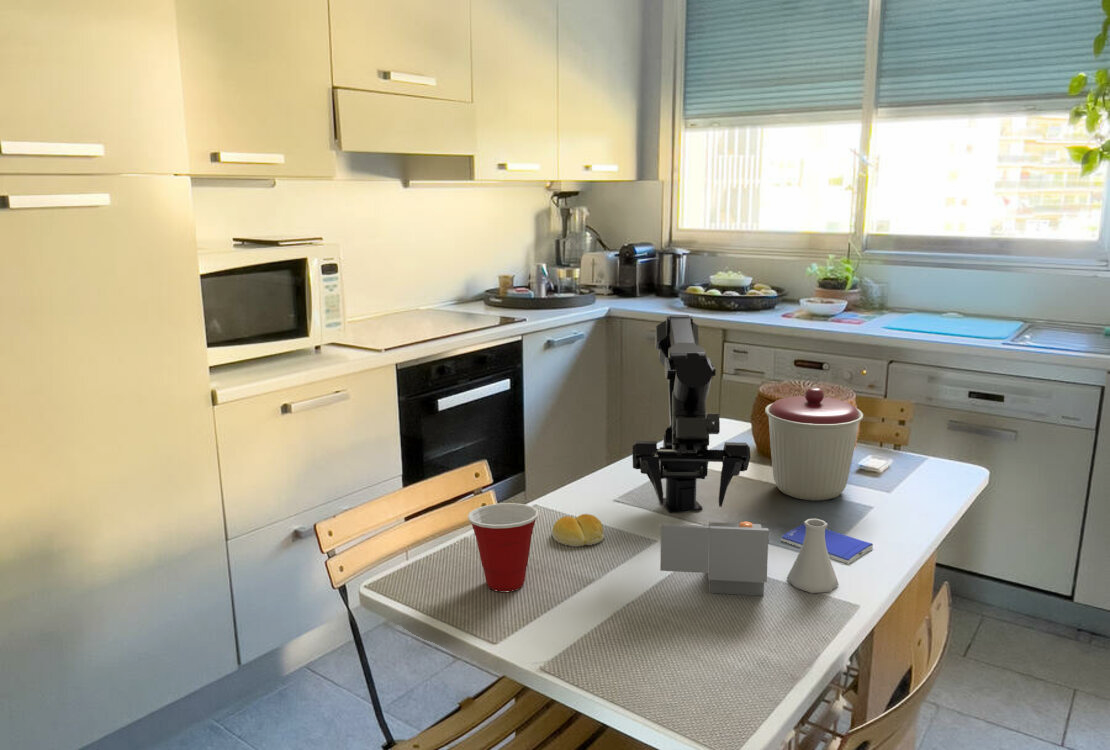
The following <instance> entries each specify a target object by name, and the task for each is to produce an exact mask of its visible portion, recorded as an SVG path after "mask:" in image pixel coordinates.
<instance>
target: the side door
mask: <svg viewBox="0 0 1110 750" xmlns="http://www.w3.org/2000/svg"><path fill="white" fill-rule="evenodd" d="M769 531H770V530H769V528H768V527H762V528H748V527H723V526H710V530H709V525H695V524H694V525H692V524H691V525H690V524H676V523H675V524H669V523H661V524H660V559H659V560H660V563H659V564H660V569H659V571H660V572H678V573H679V572H681V573H698V574H699V573H700V574H701V573H702V574H707V577H708V578H707V580H708V579H710V580H730V581H749V582H765V583H767V582H768V557H769V556H768V555H769V554H768V553H769ZM708 553H709V572H708Z"/></svg>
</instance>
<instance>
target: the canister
mask: <svg viewBox="0 0 1110 750" xmlns="http://www.w3.org/2000/svg"><path fill="white" fill-rule="evenodd" d="M764 411H765V412H764V413H765V414H766V415H767V417H768V427H769V428H768V429H769V442H770V443H769V446H770V455H771V465H772V476H773V477H772V478H773V480H774V484H775V486H776V487H777V489H779V491H781V492H782V493H783V494H785V495H787V496H789V497H791V498H792V497H793V498H796V499H798V500H799V499H800V500H805V501H826V500H830V499H831V500H832V499H834V498H837V497H838V496H840V495H841V494H842V493H843V491H845V488H846V487H847V484H848V479H849V474H850V471H851V467H852V462H853V461H852V460H853V456H854V451H855V445H856V441H857V435H858V430H859V424H860V422H861V421H862V420H863V419H864V413H863V412H862V411H861V410H860V409H858V408H857V407H855V406H854V405H853V404H851V403H849V402H847V401H845V400H843V399H841V400H840V399H837V398H833V397H826V396H825V393H824V390H822V388H819V387H816V386H815V387H809V388H807V389H806V390H805V392H804V395H796V396H788V397H783V398H780V399H776V400H775V401H774V402H772V403H769V404H767V406H765V410H764Z"/></svg>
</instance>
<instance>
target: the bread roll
mask: <svg viewBox="0 0 1110 750" xmlns="http://www.w3.org/2000/svg"><path fill="white" fill-rule="evenodd" d="M551 534H552V538H553V540H554V541H556V542H557V543H559V544H561V543H562V545H564V544H566V545H565V546H567V545H569V546H568V547H583V546H585V545H587V546H593V545H592V544H594V545H596V543H597V544H598V543H601V542H603V540H604V539H605V535H604V526H603V524H602V521H601V520H600V519H599V518H598V517H596V516H595V515H592V514H588V513H583V514H580V515H578V516H577V517H573V516H568V515H567V516H562V517H561V518H559V519H557V521H555V523H554V524H553V527H552V530H551Z"/></svg>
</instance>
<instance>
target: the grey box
mask: <svg viewBox="0 0 1110 750" xmlns="http://www.w3.org/2000/svg"><path fill="white" fill-rule="evenodd" d="M708 526H709V530H710V526H723V527H748V528H763V527H762V524H759V523H752V522H750V521H745V520H744V521H740V522H719V521H717V522H716V521H715V522H714V521H708ZM708 572H709V553H708ZM707 580H708V591H709V592H708V593H709V594H724V595H725V594H726V595H727V594H728V595H744V596H746V595H748V596H761V597H764V591H765V583H766V582H749V581H730V580H710V579H708V578H707Z"/></svg>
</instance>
